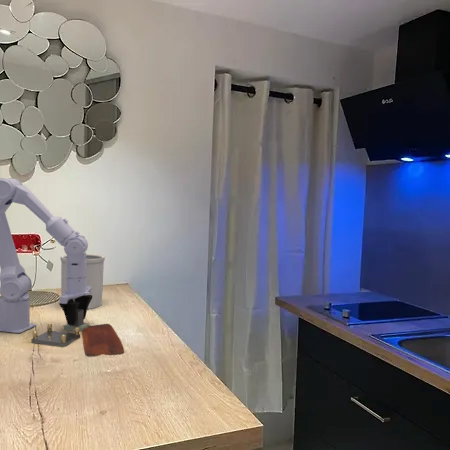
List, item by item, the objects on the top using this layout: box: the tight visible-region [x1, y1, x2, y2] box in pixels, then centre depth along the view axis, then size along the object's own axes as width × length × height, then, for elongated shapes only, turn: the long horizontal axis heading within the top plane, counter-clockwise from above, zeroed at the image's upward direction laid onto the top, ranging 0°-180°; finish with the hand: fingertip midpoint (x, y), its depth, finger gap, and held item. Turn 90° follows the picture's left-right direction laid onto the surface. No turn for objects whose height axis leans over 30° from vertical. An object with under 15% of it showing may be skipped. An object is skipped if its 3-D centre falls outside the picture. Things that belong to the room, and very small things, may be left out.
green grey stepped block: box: [63, 309, 90, 332], centre depth 141 cm, size 6×4×6 cm, turn 76°
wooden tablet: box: [81, 323, 125, 358], centre depth 133 cm, size 27×10×2 cm, turn 20°
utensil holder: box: [59, 252, 106, 310], centre depth 166 cm, size 15×15×18 cm
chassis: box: [30, 323, 81, 348], centre depth 130 cm, size 10×8×3 cm
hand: (76, 321), depth 141 cm, fingers open, 5 cm apart
